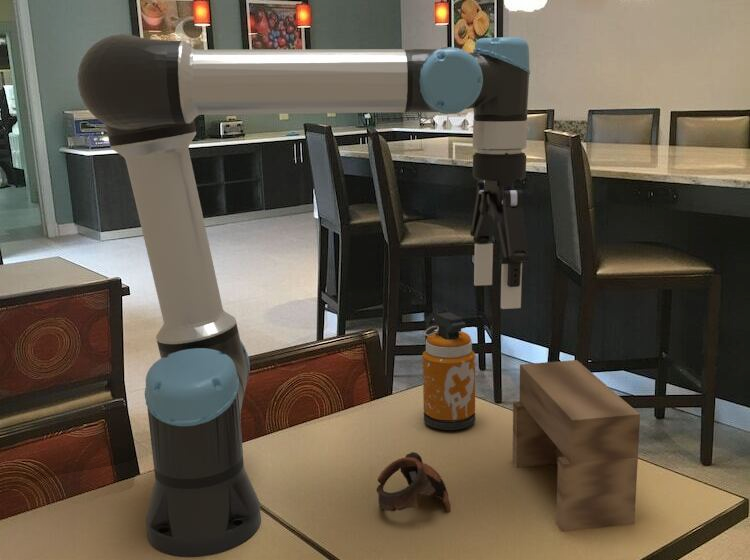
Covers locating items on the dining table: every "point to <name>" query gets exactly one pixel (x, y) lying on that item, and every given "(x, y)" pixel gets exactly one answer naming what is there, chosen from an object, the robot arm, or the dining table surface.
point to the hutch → (579, 442)
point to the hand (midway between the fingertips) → (496, 295)
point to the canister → (448, 373)
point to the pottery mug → (411, 484)
